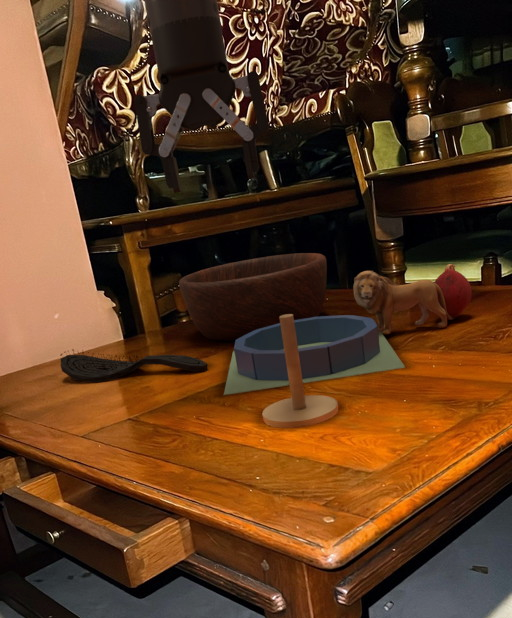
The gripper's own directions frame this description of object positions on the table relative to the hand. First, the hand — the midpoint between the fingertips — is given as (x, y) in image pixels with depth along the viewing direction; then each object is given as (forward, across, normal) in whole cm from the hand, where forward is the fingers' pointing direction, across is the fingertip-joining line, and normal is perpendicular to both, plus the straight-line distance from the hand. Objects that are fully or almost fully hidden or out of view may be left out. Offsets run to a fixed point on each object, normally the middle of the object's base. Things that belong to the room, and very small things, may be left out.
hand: (214, 185), depth 79 cm
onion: (+24, -30, -19) cm, 43 cm away
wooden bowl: (+24, 0, -35) cm, 42 cm away
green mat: (+24, -8, -7) cm, 26 cm away
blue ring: (+23, -8, -7) cm, 26 cm away
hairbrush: (+24, +18, -16) cm, 34 cm away
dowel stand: (+24, -6, +15) cm, 29 cm away
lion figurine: (+24, -22, -15) cm, 36 cm away
